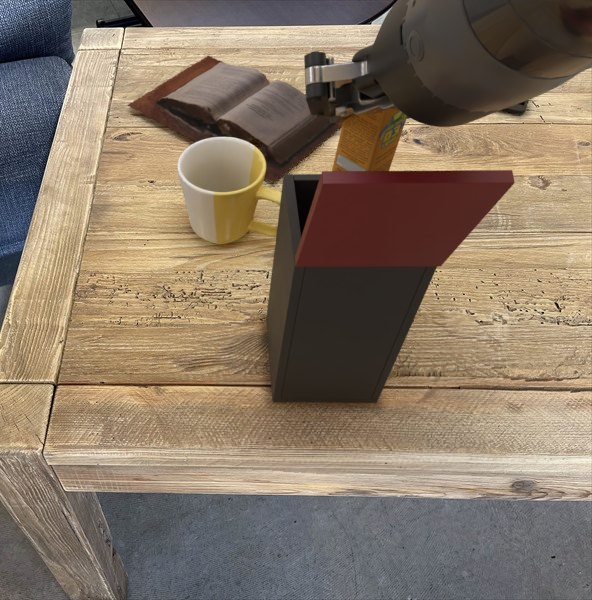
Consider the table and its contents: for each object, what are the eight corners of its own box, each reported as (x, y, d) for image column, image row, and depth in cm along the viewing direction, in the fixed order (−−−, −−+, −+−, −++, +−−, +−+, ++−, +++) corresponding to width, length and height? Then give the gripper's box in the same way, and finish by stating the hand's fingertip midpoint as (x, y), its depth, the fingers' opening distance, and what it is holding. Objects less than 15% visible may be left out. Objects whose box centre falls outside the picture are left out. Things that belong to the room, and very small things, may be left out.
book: (273, 188, 82) (277, 161, 78) (126, 109, 93) (124, 82, 90) (348, 128, 92) (355, 101, 89) (208, 63, 103) (209, 37, 100)
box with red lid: (266, 319, 68) (283, 173, 52) (360, 319, 67) (408, 173, 51) (272, 402, 61) (294, 266, 45) (377, 403, 61) (438, 265, 45)
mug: (164, 232, 77) (158, 166, 69) (215, 191, 81) (216, 125, 73) (248, 285, 71) (253, 220, 63) (298, 237, 76) (309, 172, 67)
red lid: (321, 170, 34) (322, 184, 34) (512, 169, 34) (515, 182, 33) (294, 256, 45) (295, 266, 44) (439, 256, 44) (440, 266, 44)
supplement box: (361, 208, 46) (391, 91, 38) (327, 187, 48) (349, 70, 40) (388, 189, 47) (422, 71, 40) (354, 168, 49) (380, 52, 41)
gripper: (645, -71, 27) (462, 48, 44) (328, -55, 26) (268, 59, 43) (643, 101, 28) (464, 153, 45) (335, 119, 27) (273, 164, 44)
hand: (367, 106), depth 44 cm, fingers closed on supplement box, 4 cm apart
